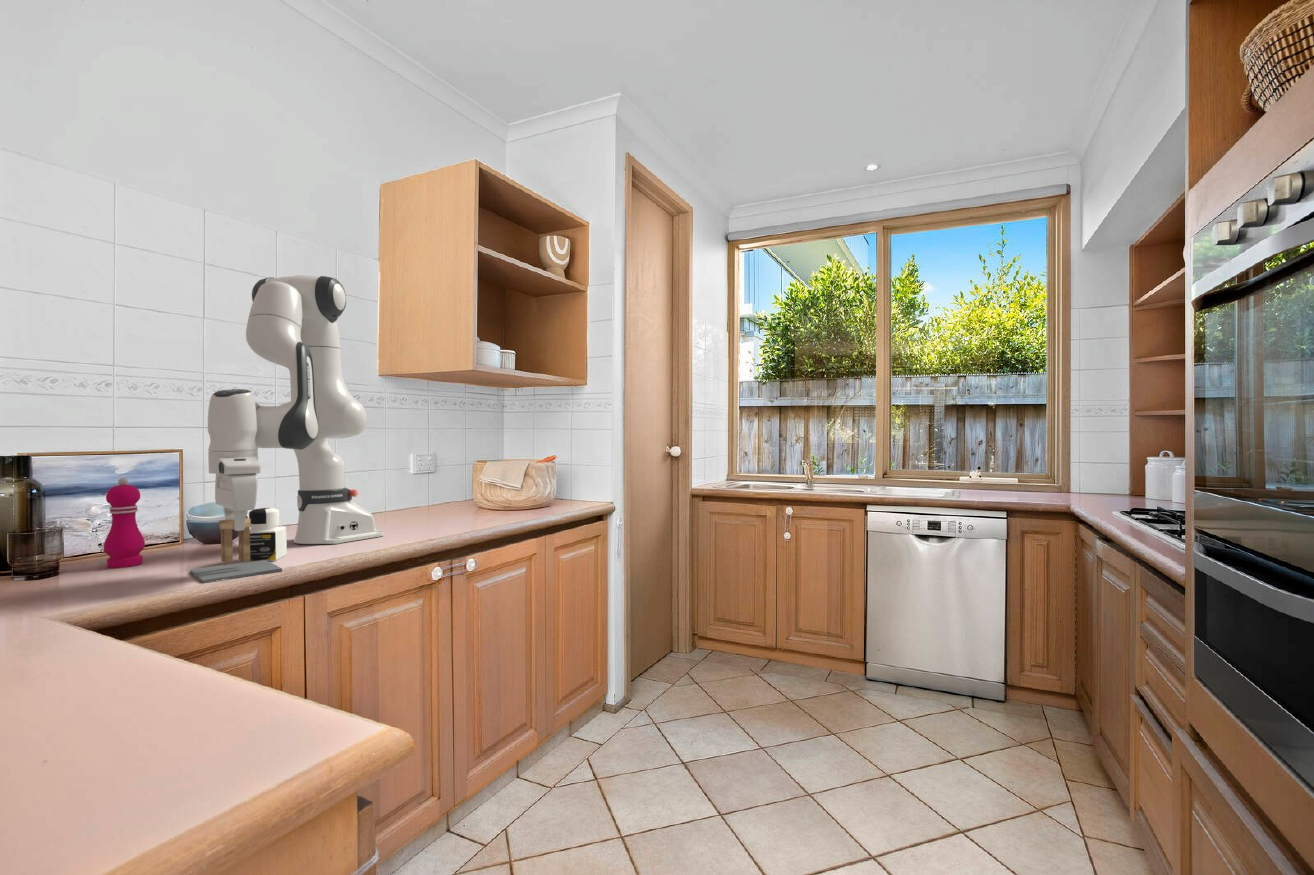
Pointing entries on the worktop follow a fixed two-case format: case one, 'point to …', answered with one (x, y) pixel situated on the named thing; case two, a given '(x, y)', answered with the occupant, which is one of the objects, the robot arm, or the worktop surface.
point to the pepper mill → (123, 527)
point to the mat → (235, 570)
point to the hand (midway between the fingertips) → (235, 528)
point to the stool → (226, 541)
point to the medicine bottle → (266, 535)
